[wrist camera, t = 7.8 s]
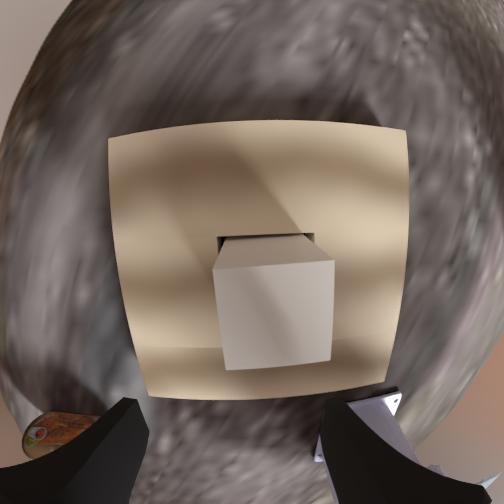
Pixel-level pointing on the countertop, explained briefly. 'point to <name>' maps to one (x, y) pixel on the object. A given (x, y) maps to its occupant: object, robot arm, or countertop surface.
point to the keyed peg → (274, 301)
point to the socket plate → (257, 223)
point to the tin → (53, 432)
